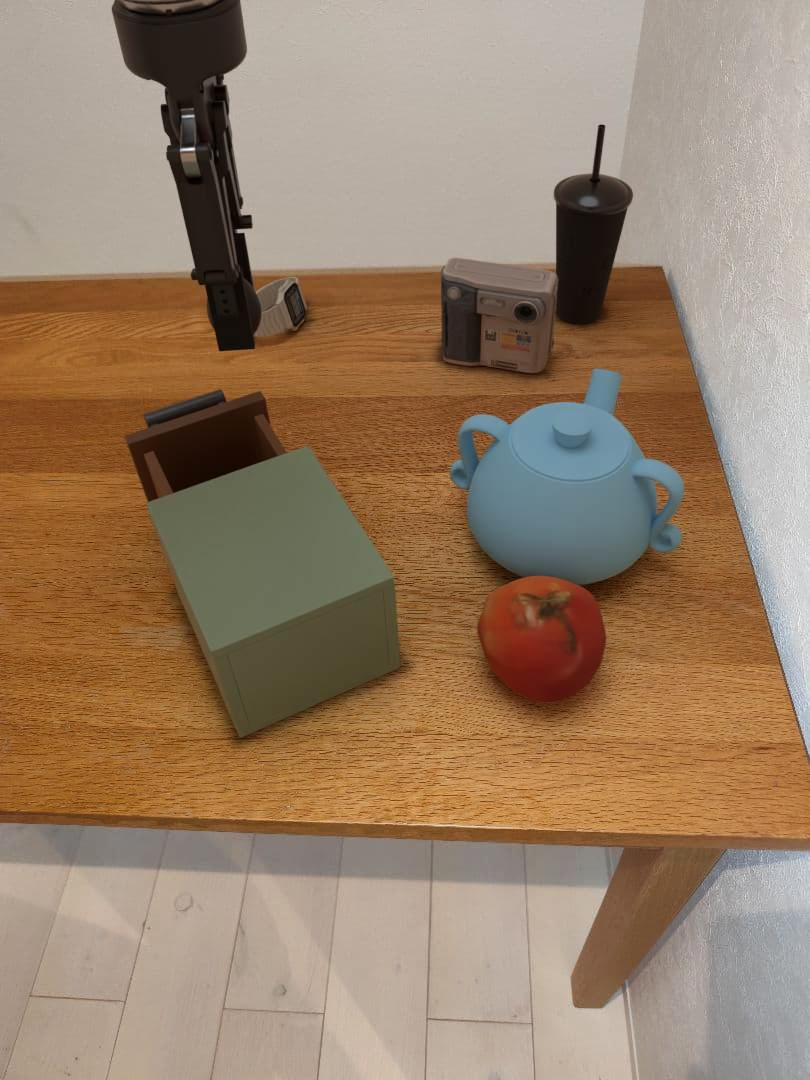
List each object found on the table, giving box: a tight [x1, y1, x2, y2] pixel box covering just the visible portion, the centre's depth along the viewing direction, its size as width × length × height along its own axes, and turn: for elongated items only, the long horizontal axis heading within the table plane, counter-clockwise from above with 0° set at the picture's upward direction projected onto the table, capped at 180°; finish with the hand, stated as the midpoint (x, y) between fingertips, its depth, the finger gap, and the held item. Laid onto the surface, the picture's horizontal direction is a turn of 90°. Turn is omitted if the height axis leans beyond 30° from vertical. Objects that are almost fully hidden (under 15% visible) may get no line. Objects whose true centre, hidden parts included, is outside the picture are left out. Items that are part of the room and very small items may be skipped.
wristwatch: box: [254, 276, 308, 338], centre depth 96 cm, size 9×6×5 cm
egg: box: [206, 278, 261, 334], centre depth 68 cm, size 4×4×5 cm
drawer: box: [124, 388, 288, 503], centre depth 73 cm, size 19×12×9 cm, turn 27°
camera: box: [440, 257, 558, 374], centre depth 89 cm, size 11×6×10 cm, turn 70°
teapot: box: [449, 368, 685, 586], centre depth 72 cm, size 20×20×13 cm
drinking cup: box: [553, 124, 634, 325], centre depth 90 cm, size 8×8×20 cm
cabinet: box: [145, 445, 401, 739], centre depth 66 cm, size 15×13×11 cm
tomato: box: [476, 576, 607, 704], centre depth 64 cm, size 9×9×8 cm
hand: (238, 328), depth 70 cm, fingers closed on egg, 4 cm apart
